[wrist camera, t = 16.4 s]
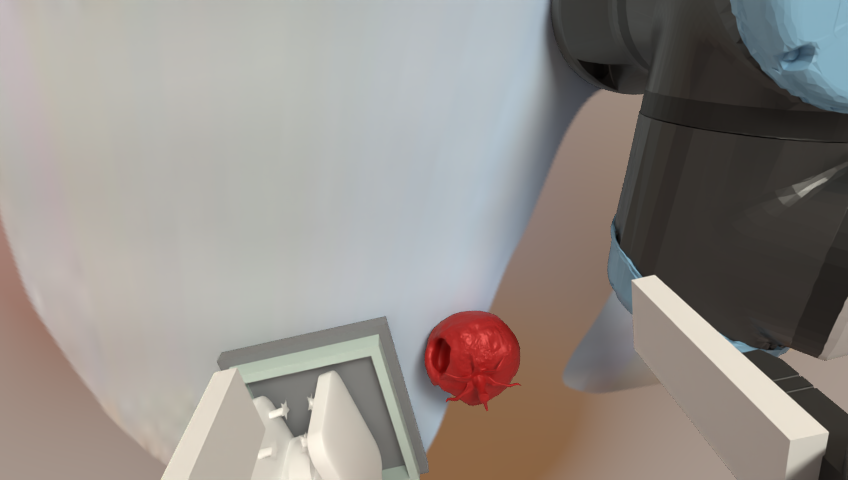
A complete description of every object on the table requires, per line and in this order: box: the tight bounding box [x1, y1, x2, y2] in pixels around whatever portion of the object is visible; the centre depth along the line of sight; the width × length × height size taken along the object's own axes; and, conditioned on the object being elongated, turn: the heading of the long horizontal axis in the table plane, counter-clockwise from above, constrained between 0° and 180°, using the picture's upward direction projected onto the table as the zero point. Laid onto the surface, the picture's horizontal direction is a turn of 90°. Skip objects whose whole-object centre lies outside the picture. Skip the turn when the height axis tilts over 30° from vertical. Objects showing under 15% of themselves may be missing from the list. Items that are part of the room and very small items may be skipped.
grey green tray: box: [217, 316, 429, 480], centre depth 54 cm, size 18×22×4 cm
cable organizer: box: [251, 370, 382, 480], centre depth 49 cm, size 15×11×12 cm
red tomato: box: [425, 311, 520, 411], centre depth 49 cm, size 10×10×9 cm
